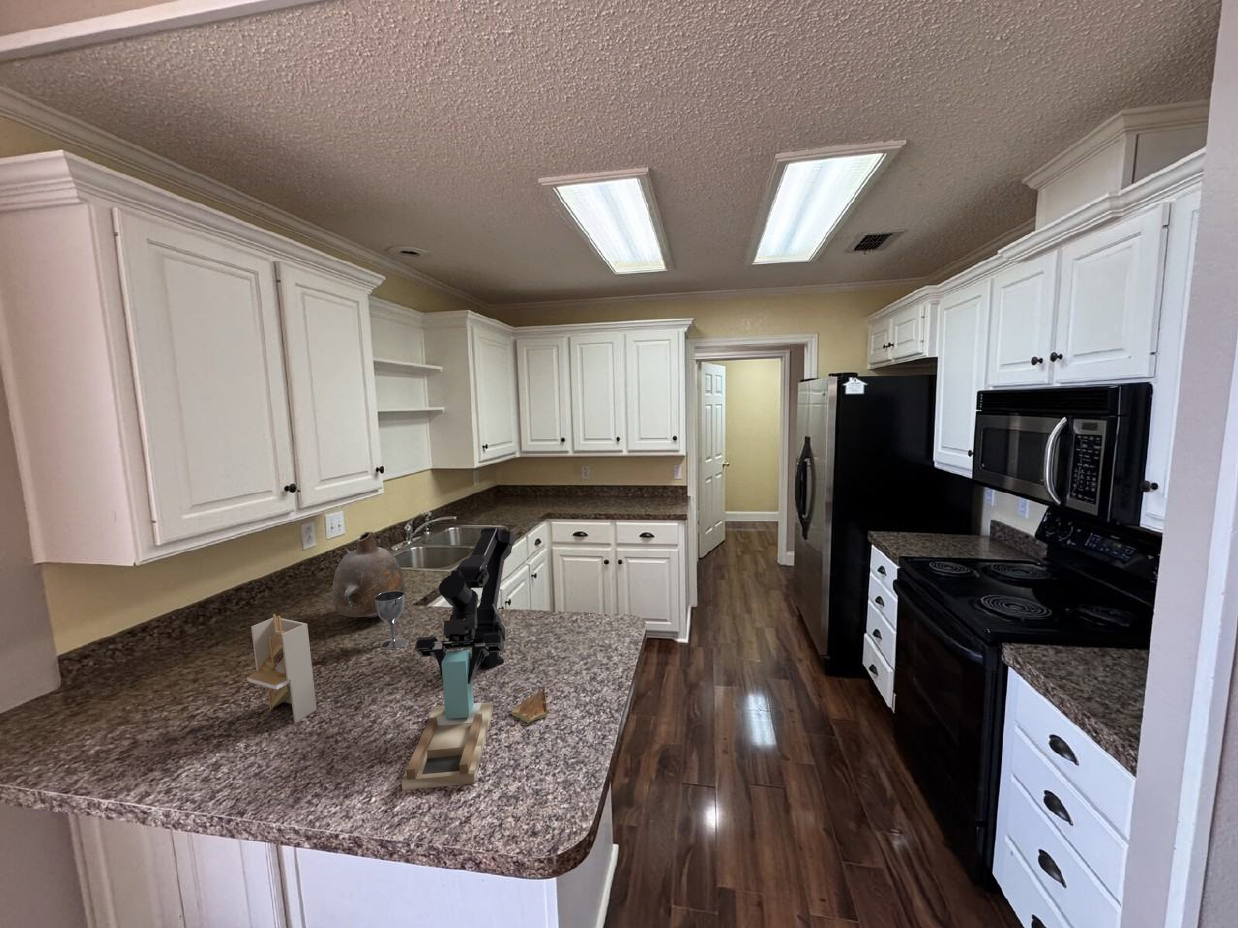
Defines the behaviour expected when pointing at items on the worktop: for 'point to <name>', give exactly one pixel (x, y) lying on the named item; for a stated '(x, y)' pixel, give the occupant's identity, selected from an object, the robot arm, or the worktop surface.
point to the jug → (365, 578)
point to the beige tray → (449, 749)
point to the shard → (532, 708)
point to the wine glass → (390, 614)
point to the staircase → (284, 664)
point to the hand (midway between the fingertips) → (456, 684)
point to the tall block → (457, 684)
